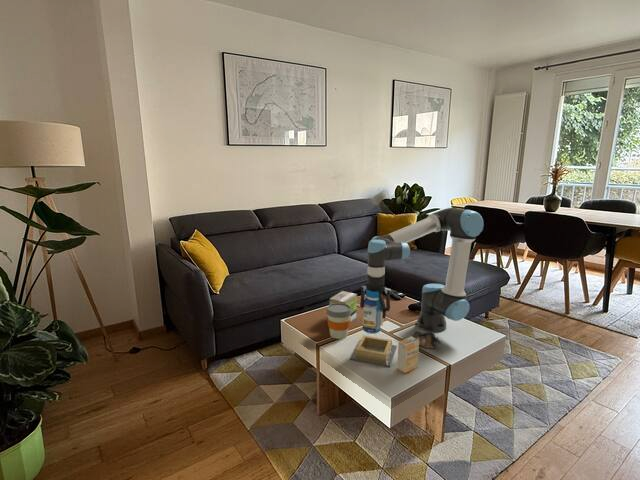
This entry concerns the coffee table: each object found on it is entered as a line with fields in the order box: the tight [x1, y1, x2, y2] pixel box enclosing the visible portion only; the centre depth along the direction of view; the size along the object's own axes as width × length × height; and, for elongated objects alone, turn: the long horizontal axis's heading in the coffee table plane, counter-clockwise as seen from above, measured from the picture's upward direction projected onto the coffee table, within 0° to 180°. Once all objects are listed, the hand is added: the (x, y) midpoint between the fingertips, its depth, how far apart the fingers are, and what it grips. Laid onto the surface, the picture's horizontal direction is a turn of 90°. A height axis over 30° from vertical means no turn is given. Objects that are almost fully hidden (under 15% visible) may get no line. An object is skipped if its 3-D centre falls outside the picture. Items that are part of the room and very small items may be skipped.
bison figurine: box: [411, 329, 442, 349], centre depth 171 cm, size 12×7×10 cm
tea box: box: [329, 290, 358, 323], centre depth 199 cm, size 15×10×15 cm, turn 148°
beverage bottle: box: [361, 288, 382, 335], centre depth 162 cm, size 8×8×20 cm
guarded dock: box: [349, 335, 398, 368], centre depth 165 cm, size 18×18×4 cm
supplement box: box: [396, 336, 420, 374], centre depth 152 cm, size 8×5×13 cm, turn 126°
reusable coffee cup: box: [326, 303, 352, 340], centre depth 182 cm, size 13×13×15 cm
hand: (374, 323), depth 162 cm, fingers closed on beverage bottle, 6 cm apart
